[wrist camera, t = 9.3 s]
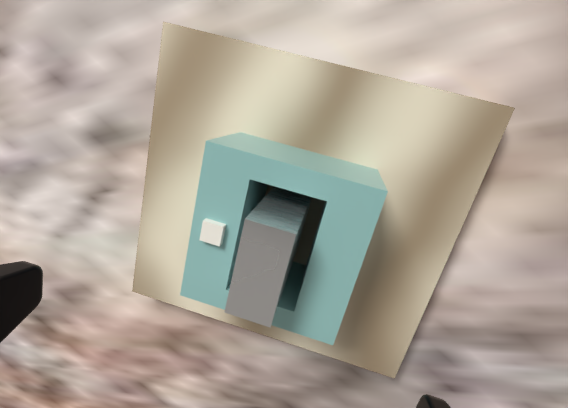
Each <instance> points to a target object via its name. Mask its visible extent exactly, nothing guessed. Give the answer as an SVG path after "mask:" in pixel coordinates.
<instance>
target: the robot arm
mask: <svg viewBox="0 0 568 408" xmlns="http://www.w3.org/2000/svg"><path fill="white" fill-rule="evenodd" d="M42 287H43V271H42V269H41V267H39V266H38V265H35V264H32V263H29V262H25V261H21V262H14V263H8V264H2V265H0V343H1V342H2V341H3V340H4V339H5V338H6V337H7V336H8V335H9V334H10V333H11V332H12V331H13V330H14V329H15V328H16V327H17V326H18V325H19V324H20V323H21V322H22V321H23V320H24V319H25V318H26V317H27V316H28V315H29V314H30V313H31V312H32V311H33V310H34V309H35V308H36V307H37V306H38V304H39V303H40V301H41V298H42ZM416 408H451V407H450V406H449V405H448V404H447V403H446V402H445V401H444V400H442V399H440V398H437V397H434V396H431V395H427V394H426V395H423V396H422V397H421V399H420V401H419V403H418V405H417V407H416Z"/></svg>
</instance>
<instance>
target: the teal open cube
mask: <svg viewBox="0 0 568 408" xmlns="http://www.w3.org/2000/svg"><path fill="white" fill-rule="evenodd" d="M268 185H272V186H275V187H279V188H282V189H286V190H289V191H292V192H296V193H299V194H303V195H306V196H310V197H313V198H317V199H320V200H324V201H325V203H324V207H323V210H322V214H321V217H320V220H319V224H318V227H317V230H316V234H315V237H314V241H313V244H312V247H311V251H310V254H309V257H308V261H307V264H306V265H303V264H300V263H296V262H293V264H292V267H291V270H290V272H289V275H288V278H287V281H286V284H285V287H284V290H283V293H282V296H281V299H280V301H279V304H278V307H277V310H276V313H275V316H274V319H273V322H272V326H275V327H278V328H281V329H284V330H288V331H291V332H294V333H297V334H300V335H303V336H306V337H309V338H312V339H315V340H318V341H321V342H324V343H327V344H330V345H333V344H334V341H335V339H336V336H337V333H338V330H339V327H340V325H341V322H342V319H343V316H344V313H345V310H346V308H347V305H348V302H349V299H350V296H351V294H352V291H353V288H354V285H355V282H356V280H357V277H358V274H359V271H360V268H361V266H362V263H363V260H364V257H365V254H366V252H367V249H368V246H369V243H370V240H371V237H372V235H373V232H374V229H375V226H376V223H377V221H378V218H379V215H380V212H381V209H382V207H383V204H384V201H385V198H386V195H387V193H388V190H387V188H386V186H385V184H384V182H383V180H382V178H381V176H380V174H379V172H378V170H377V169H374V168H370V167H366V166H363V165H359V164H355V163H352V162H348V161H344V160H341V159H337V158H333V157H330V156H326V155H322V154H319V153H315V152H311V151H308V150H304V149H300V148H297V147H293V146H290V145H286V144H282V143H279V142H275V141H271V140H268V139H264V138H260V137H257V136H253V135H249V134H246V133H242V132H239V133H235V134H231V135H227V136H223V137H219V138H215V139H211V140H207V141H206V143H205V149H204V155H203V161H202V167H201V173H200V179H199V185H198V191H197V197H196V203H195V208H194V214H193V220H192V226H191V232H190V238H189V244H188V250H187V256H186V262H185V268H184V274H183V280H182V286H181V292H180V295H181V296H184V297H187V298H190V299H193V300H196V301H199V302H202V303H205V304H208V305H211V306H214V307H217V308H221V309H224V310H225V307H226V302H227V298H228V293H229V289H230V284H231V280H232V275H233V270H234V266H235V261H236V257H237V252H238V248H239V243H240V239H241V234H242V230H243V225H244V221H245V218H246V217H247V216H248V215H249V214H250V213H251V212H252V210H253V209H254V208H255V207H256V206H257V205H258V204H259V203H260V202H261V200H262V199H263V198H264V197H265V194H266V190H267V186H268Z"/></svg>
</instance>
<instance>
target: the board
mask: <svg viewBox="0 0 568 408" xmlns="http://www.w3.org/2000/svg"><path fill="white" fill-rule="evenodd" d="M514 109H515V108H513V107H509V106H505V105H501V104H497V103H493V102H489V101H485V100H480V99H476V98H472V97H468V96H464V95H460V94H456V93H452V92H448V91H444V90H440V89H436V88H432V87H427V86H423V85H419V84H415V83H411V82H407V81H403V80H399V79H395V78H391V77H387V76H383V75H379V74H374V73H370V72H366V71H362V70H358V69H354V68H350V67H346V66H342V65H338V64H334V63H330V62H326V61H321V60H317V59H313V58H309V57H305V56H301V55H297V54H293V53H289V52H285V51H281V50H277V49H273V48H268V47H264V46H260V45H256V44H252V43H248V42H244V41H240V40H236V39H232V38H228V37H224V36H219V35H215V34H211V33H207V32H203V31H199V30H195V29H191V28H187V27H183V26H179V25H175V24H171V23H166V22H163V29H162V37H161V46H160V55H159V63H158V72H157V81H156V90H155V98H154V107H153V116H152V124H151V133H150V142H149V150H148V159H147V168H146V177H145V185H144V194H143V203H142V211H141V220H140V229H139V238H138V246H137V255H136V264H135V272H134V281H133V290H132V291H133V292H136V293H139V294H142V295H145V296H148V297H151V298H154V299H157V300H160V301H163V302H166V303H169V304H172V305H175V306H178V307H181V308H184V309H187V310H190V311H193V312H196V313H199V314H202V315H205V316H208V317H211V318H214V319H217V320H220V321H223V322H226V323H229V324H232V325H235V326H238V327H241V328H244V329H247V330H250V331H253V332H256V333H259V334H262V335H265V336H268V337H271V338H274V339H277V340H280V341H283V342H286V343H289V344H292V345H295V346H298V347H301V348H304V349H307V350H310V351H313V352H316V353H319V354H322V355H325V356H328V357H331V358H334V359H337V360H340V361H343V362H346V363H349V364H352V365H355V366H358V367H361V368H364V369H367V370H370V371H373V372H376V373H379V374H382V375H385V376H388V377H391V378H395V376H396V374H397V372H398V370H399V367H400V365H401V363H402V361H403V358H404V356H405V354H406V352H407V349H408V347H409V345H410V343H411V340H412V338H413V336H414V334H415V331H416V329H417V327H418V325H419V322H420V320H421V318H422V316H423V313H424V311H425V309H426V307H427V304H428V302H429V300H430V298H431V295H432V293H433V291H434V289H435V286H436V284H437V282H438V280H439V277H440V275H441V273H442V271H443V268H444V266H445V264H446V262H447V259H448V257H449V255H450V253H451V250H452V248H453V246H454V244H455V241H456V239H457V237H458V235H459V232H460V230H461V228H462V226H463V223H464V221H465V219H466V217H467V214H468V212H469V210H470V208H471V205H472V203H473V201H474V199H475V196H476V194H477V192H478V190H479V187H480V185H481V183H482V181H483V178H484V176H485V174H486V172H487V169H488V167H489V165H490V163H491V160H492V158H493V156H494V154H495V151H496V149H497V147H498V145H499V142H500V140H501V138H502V136H503V133H504V131H505V129H506V127H507V124H508V122H509V120H510V118H511V115H512V113H513V111H514ZM239 132H242V133H246V134H249V135H253V136H257V137H260V138H264V139H268V140H271V141H275V142H279V143H282V144H286V145H290V146H293V147H297V148H300V149H304V150H308V151H311V152H315V153H319V154H322V155H326V156H330V157H333V158H337V159H341V160H344V161H348V162H352V163H355V164H359V165H363V166H366V167H370V168H374V169H377V170H378V172H379V174H380V176H381V178H382V180H383V182H384V184H385V186H386V188H387V190H388V193H387V195H386V198H385V201H384V204H383V207H382V209H381V212H380V215H379V218H378V221H377V223H376V226H375V229H374V232H373V235H372V237H371V240H370V243H369V246H368V249H367V252H366V254H365V257H364V260H363V263H362V266H361V268H360V271H359V274H358V277H357V280H356V282H355V285H354V288H353V291H352V294H351V296H350V299H349V302H348V305H347V308H346V310H345V313H344V316H343V319H342V322H341V325H340V327H339V330H338V333H337V336H336V339H335V341H334V344H333V345H330V344H327V343H324V342H321V341H318V340H315V339H312V338H309V337H306V336H303V335H300V334H297V333H294V332H291V331H288V330H284V329H281V328H278V327H275V326H272V325H271V328H270V327H267V326H264V325H261V324H258V323H255V322H252V321H249V320H246V319H243V318H240V317H236V316H233V315H230V314H227V313H224V311H225V310H224V309H221V308H217V307H214V306H211V305H208V304H205V303H202V302H199V301H196V300H193V299H190V298H187V297H184V296H181V295H180V292H181V286H182V280H183V274H184V268H185V262H186V256H187V250H188V244H189V238H190V232H191V226H192V220H193V214H194V208H195V203H196V197H197V191H198V185H199V179H200V173H201V167H202V161H203V155H204V149H205V143H206V141H207V140H211V139H215V138H219V137H223V136H227V135H231V134H235V133H239ZM273 187H274V186H272V185H268V186H267V190H266V194H265V196H266V195H267V194H268V193H269V192H270V190H271V189H272V188H273ZM324 203H325V201H324V200H320V199H317V198H313V197H312V199H311V203H310V206H309V210H308V213H307V217H306V220H305V224H304V227H303V231H302V234H301V238H300V241H299V245H298V249H297V252H296V255H295V258H294V261H293V262H296V263H300V264H303V265H306V264H307V261H308V257H309V254H310V251H311V247H312V244H313V241H314V237H315V234H316V230H317V227H318V224H319V220H320V217H321V214H322V210H323V207H324Z"/></svg>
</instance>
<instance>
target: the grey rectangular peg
mask: <svg viewBox="0 0 568 408" xmlns="http://www.w3.org/2000/svg"><path fill="white" fill-rule="evenodd" d="M311 199H312V197H310V196H306V195H303V194H299V193H296V192H292V191H289V190H286V189H282V188H279V187H275V186H274V187H273V188H272V189H271V190H270V192H269V193H268V194H267V195H266V196H265V197H264V198H263V199H262V200H261V202H260V203H259V204H258V205H257V206H256V207H255V208H254V209H253V210H252V212H251V213H250V214H249V215H248V216H247V217H246V218H245V221H244V225H243V230H242V234H241V239H240V243H239V248H238V252H237V257H236V261H235V266H234V270H233V275H232V280H231V284H230V289H229V293H228V298H227V302H226V307H225V311H224V313H227V314H230V315H233V316H236V317H240V318H243V319H246V320H249V321H252V322H255V323H258V324H261V325H264V326H267V327H270V328H271V325H272V322H273V319H274V316H275V313H276V310H277V307H278V304H279V301H280V299H281V296H282V293H283V290H284V287H285V284H286V281H287V278H288V275H289V272H290V270H291V267H292V264H293V261H294V258H295V255H296V252H297V249H298V245H299V241H300V238H301V234H302V231H303V227H304V224H305V220H306V217H307V213H308V210H309V206H310V203H311Z"/></svg>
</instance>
